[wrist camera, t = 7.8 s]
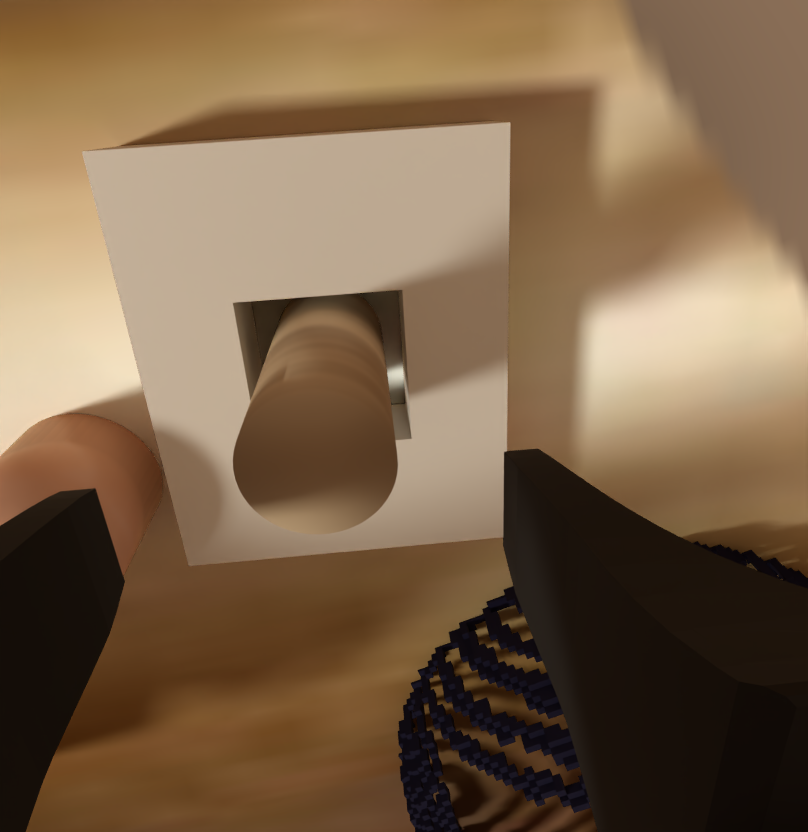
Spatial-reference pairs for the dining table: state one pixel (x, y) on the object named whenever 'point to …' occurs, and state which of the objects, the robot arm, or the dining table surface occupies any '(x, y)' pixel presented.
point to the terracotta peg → (85, 474)
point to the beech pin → (320, 420)
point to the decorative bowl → (501, 714)
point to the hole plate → (307, 277)
